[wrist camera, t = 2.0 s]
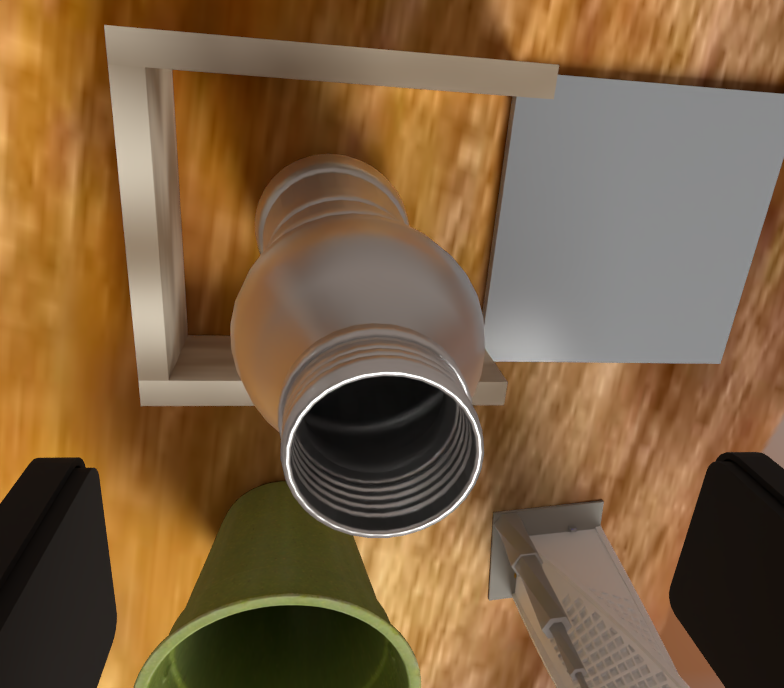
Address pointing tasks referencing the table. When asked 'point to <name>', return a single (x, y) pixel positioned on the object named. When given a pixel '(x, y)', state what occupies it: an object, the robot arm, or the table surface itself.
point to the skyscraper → (577, 599)
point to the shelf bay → (161, 181)
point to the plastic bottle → (360, 351)
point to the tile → (628, 220)
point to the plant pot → (281, 610)
